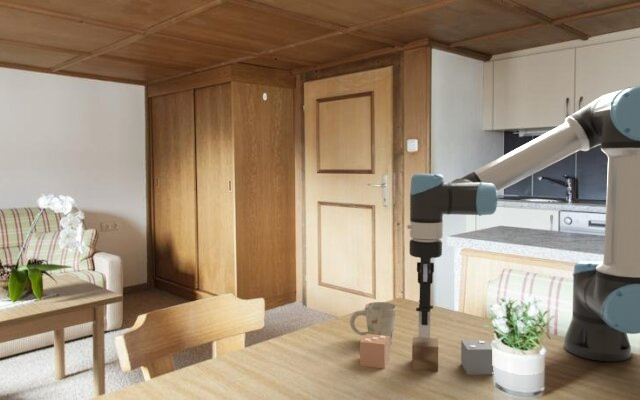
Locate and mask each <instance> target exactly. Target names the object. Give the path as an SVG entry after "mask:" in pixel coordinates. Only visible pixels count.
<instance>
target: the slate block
mask: <svg viewBox="0 0 640 400" xmlns="http://www.w3.org/2000/svg"><path fill="white" fill-rule="evenodd" d="M460 342H461V344H460V345H461V348H460V349H461V350H460V364H461V367H462V368H463V370H464V372H465V374H466V375H493V374H492V372H493V373H494V370H493V366H492V348H493V347H492V345H491V344H490V343H489V341H488V340H485V339H482V340H481V339H478V340H477V339H470V340H468V339H467V340H466V339H464V340H463V339H462V340H461V341H460ZM491 347H492V348H491Z"/></svg>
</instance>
